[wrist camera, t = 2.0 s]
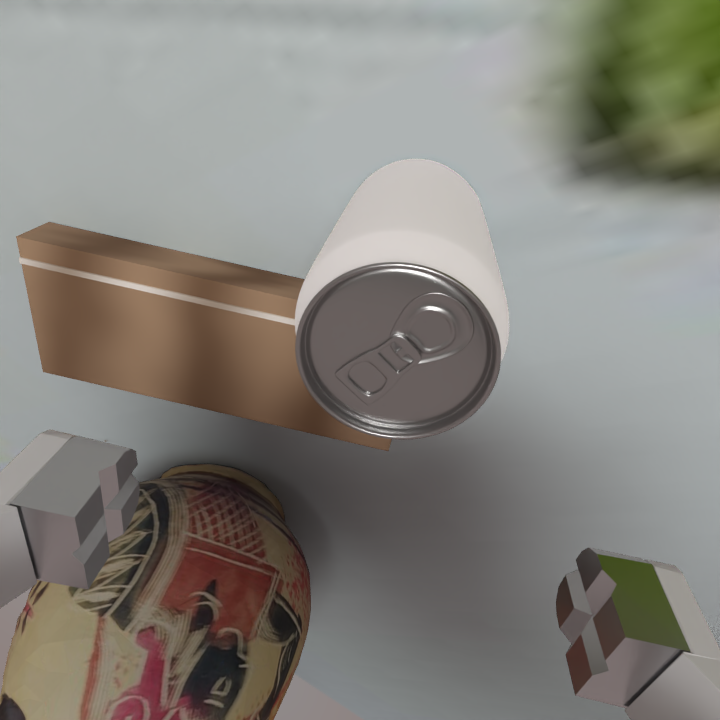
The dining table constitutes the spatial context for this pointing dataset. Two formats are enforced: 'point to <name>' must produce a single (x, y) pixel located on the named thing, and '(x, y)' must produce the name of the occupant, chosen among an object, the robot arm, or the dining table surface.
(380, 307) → the can
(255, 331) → the plank
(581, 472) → the dining table surface
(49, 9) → the dining table surface
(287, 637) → the ceramic jug
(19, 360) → the dining table surface
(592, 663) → the robot arm
